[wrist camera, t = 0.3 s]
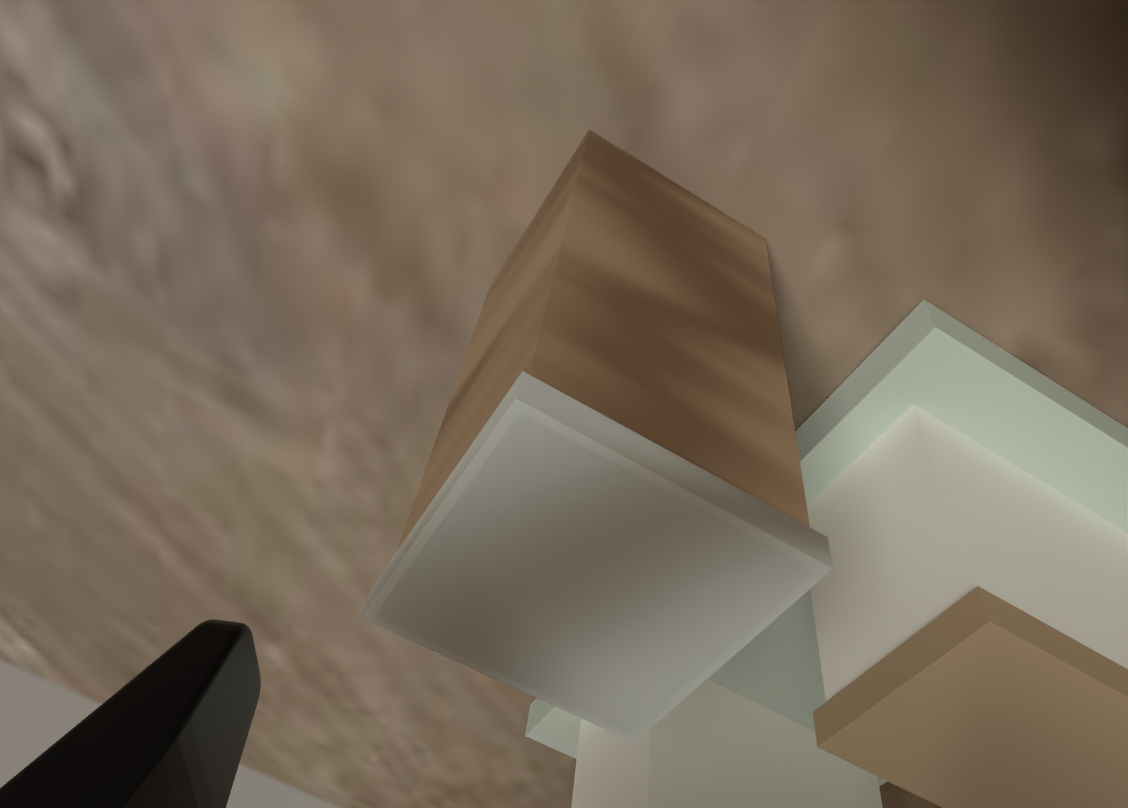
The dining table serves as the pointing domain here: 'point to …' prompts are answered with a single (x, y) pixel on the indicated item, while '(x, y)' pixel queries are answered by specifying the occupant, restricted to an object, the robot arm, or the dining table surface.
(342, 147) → the dining table surface
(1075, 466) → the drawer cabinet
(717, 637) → the peg
